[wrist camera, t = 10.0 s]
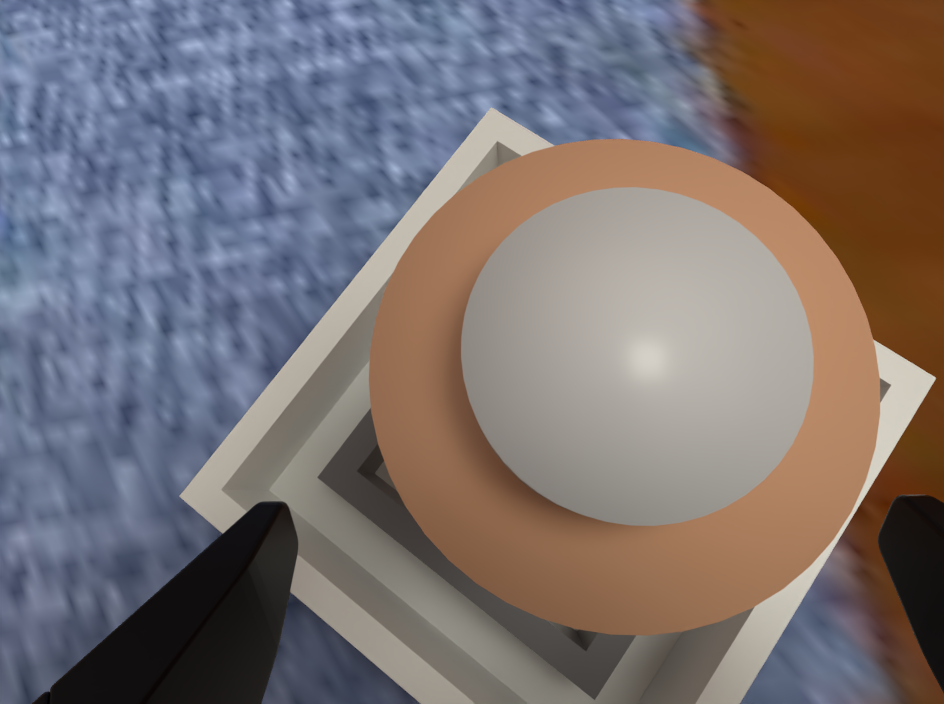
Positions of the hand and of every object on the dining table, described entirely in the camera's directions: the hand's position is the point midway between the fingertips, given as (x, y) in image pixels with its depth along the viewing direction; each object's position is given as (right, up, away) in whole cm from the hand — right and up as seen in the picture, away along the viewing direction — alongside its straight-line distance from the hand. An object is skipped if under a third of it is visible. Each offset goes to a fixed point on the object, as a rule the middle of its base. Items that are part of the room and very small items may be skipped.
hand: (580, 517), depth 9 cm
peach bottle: (+1, -1, +10) cm, 10 cm away
